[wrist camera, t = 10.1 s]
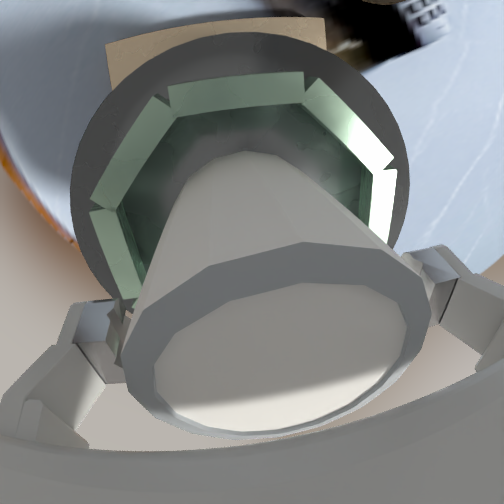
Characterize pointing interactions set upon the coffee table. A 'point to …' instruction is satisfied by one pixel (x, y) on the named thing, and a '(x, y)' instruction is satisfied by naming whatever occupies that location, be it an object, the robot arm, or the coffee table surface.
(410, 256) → the robot arm
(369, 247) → the white cylinder
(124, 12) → the coffee table surface
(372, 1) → the pillar candle
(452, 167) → the coffee table surface
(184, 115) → the green-rimmed dark canister
